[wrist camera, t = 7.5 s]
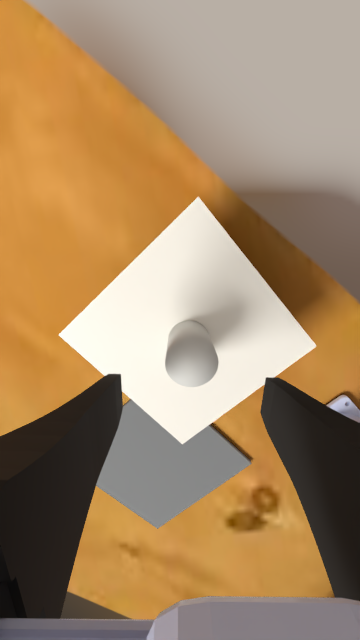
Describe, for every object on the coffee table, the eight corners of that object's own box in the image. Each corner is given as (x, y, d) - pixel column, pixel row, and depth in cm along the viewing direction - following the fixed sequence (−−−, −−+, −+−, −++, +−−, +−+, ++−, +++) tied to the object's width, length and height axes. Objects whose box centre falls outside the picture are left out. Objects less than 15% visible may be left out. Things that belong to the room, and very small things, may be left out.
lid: (311, 342, 17) (352, 370, 13) (182, 438, 19) (183, 486, 15) (197, 198, 14) (204, 177, 10) (62, 332, 16) (25, 356, 12)
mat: (250, 460, 26) (251, 463, 25) (157, 524, 29) (157, 528, 28) (156, 376, 23) (156, 378, 22) (63, 458, 25) (61, 461, 25)
